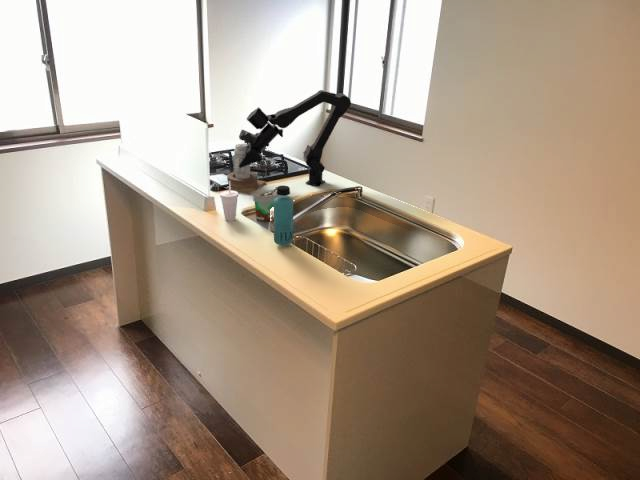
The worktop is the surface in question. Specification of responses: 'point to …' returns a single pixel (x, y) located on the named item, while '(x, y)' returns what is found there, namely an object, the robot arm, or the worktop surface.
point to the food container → (264, 205)
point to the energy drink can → (239, 156)
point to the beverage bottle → (283, 217)
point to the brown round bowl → (244, 183)
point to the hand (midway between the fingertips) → (238, 164)
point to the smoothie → (229, 203)
